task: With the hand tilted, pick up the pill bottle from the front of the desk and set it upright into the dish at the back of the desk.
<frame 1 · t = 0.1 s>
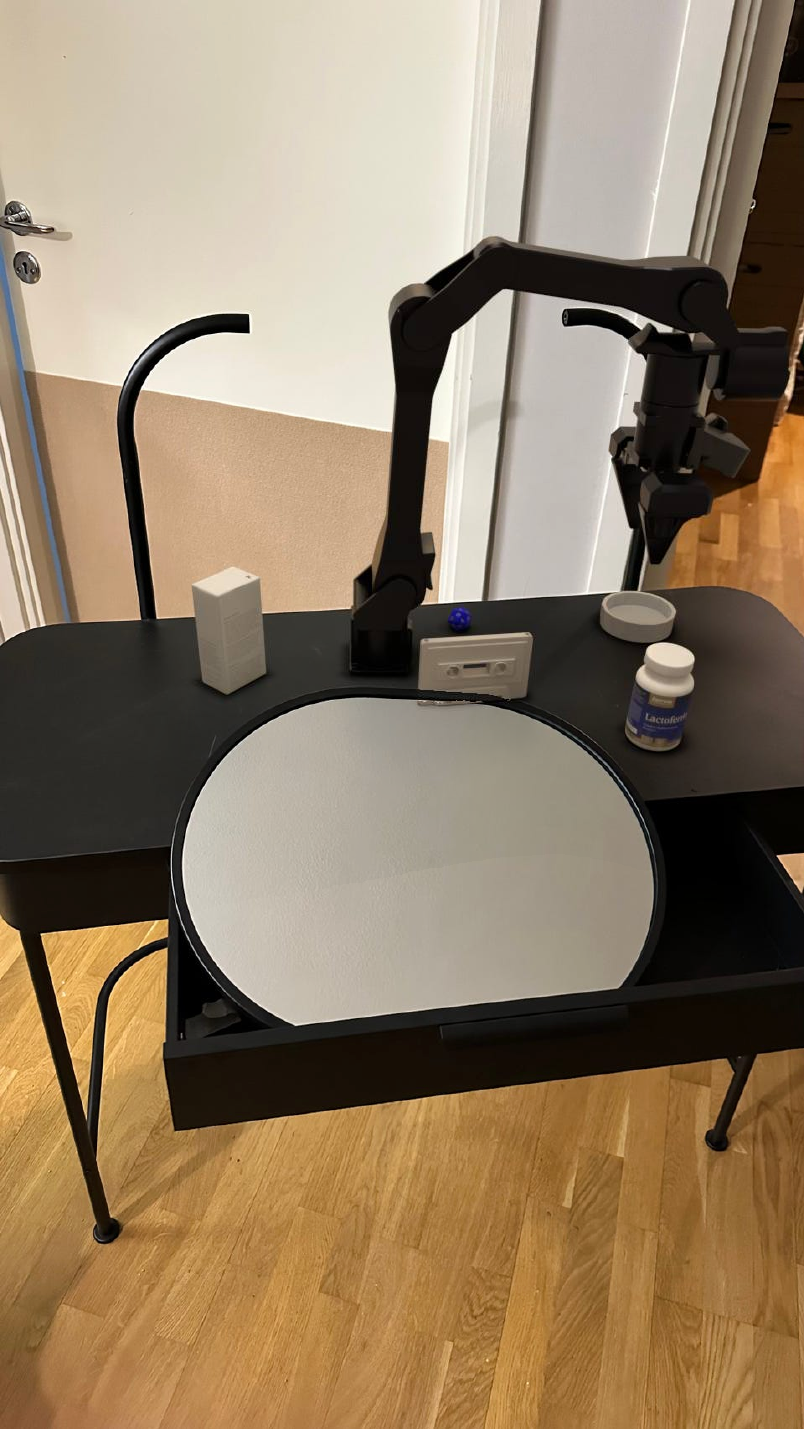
hand: (644, 545, 105), 15 cm above the table, tool pointing down, fingers open, 9 cm apart
cosmetic box: (233, 680, 108), on the table
dish: (635, 625, 121), on the table
die: (459, 629, 119), on the table
pill bottle: (652, 738, 101), on the table
cassette: (471, 700, 106), on the table
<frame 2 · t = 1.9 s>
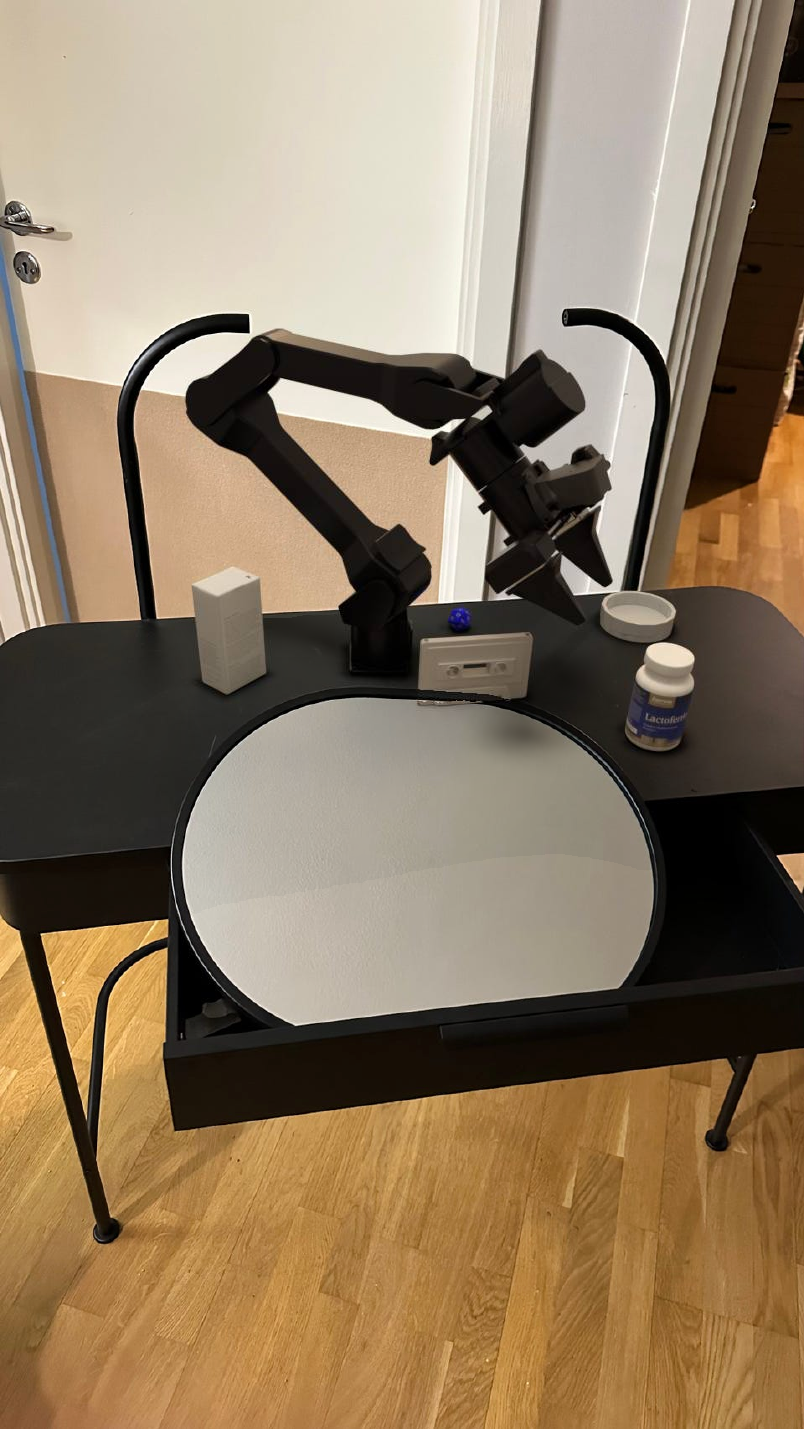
hand: (596, 603, 96), 13 cm above the table, tool tilted 45°, fingers open, 9 cm apart
nothing on the table moved.
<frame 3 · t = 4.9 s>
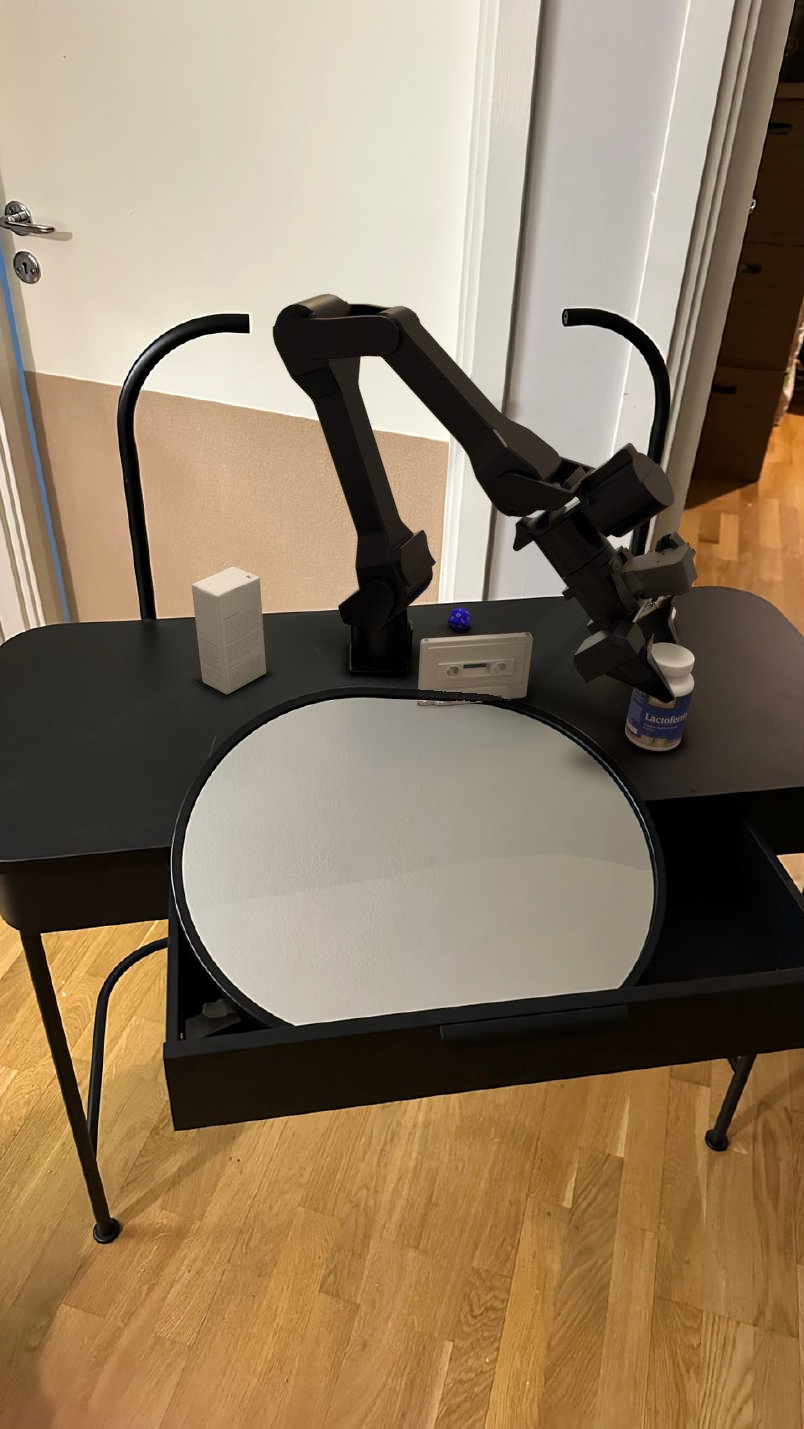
hand: (677, 686, 97), 7 cm above the table, tool tilted 45°, fingers closed on pill bottle, 6 cm apart
pill bottle: (652, 738, 101), on the table, touching gripper
everything else where it was.
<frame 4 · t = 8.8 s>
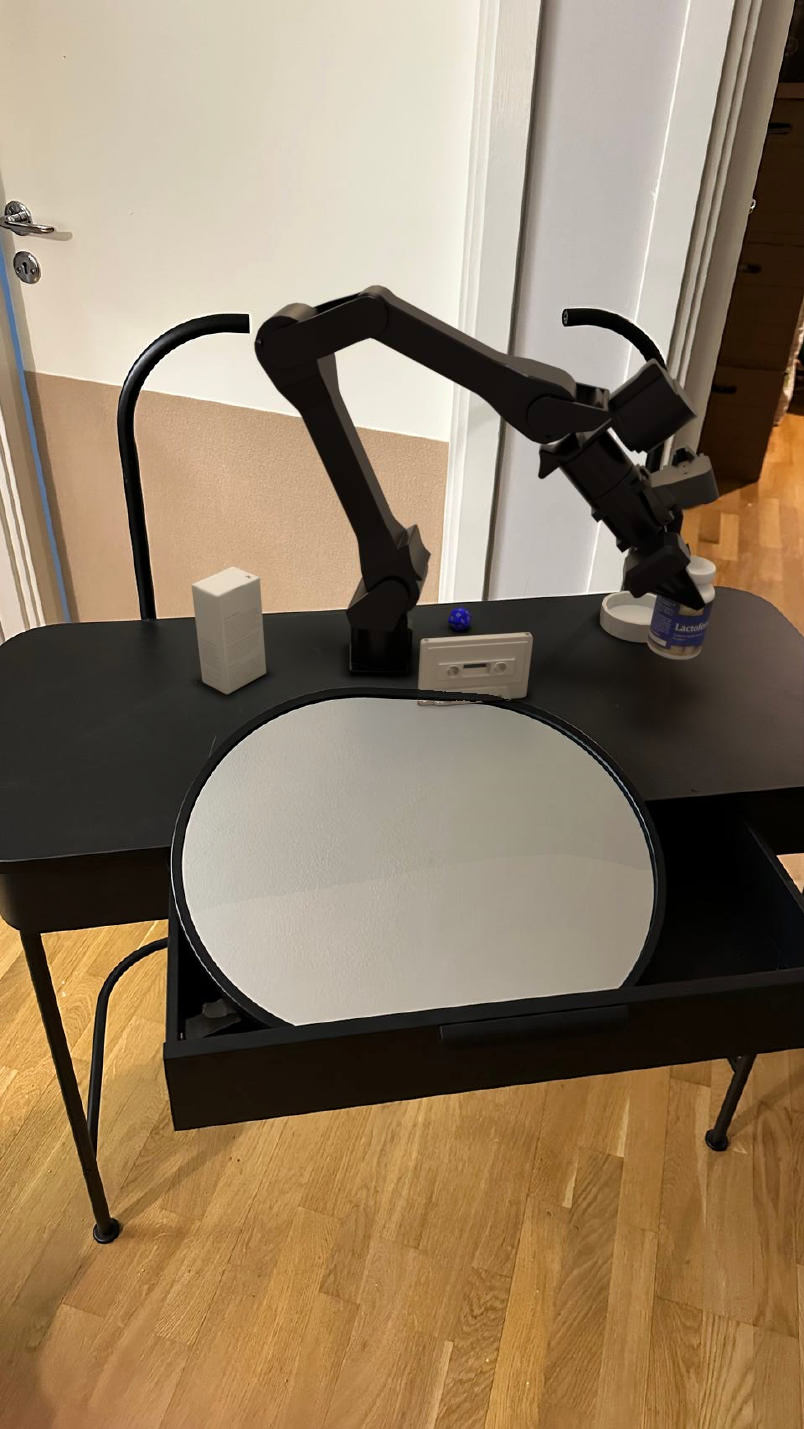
hand: (699, 594, 101), 12 cm above the table, tool tilted 45°, fingers closed on pill bottle, 6 cm apart
pill bottle: (672, 649, 105), point 5 cm above the table, touching gripper
everything else where it was.
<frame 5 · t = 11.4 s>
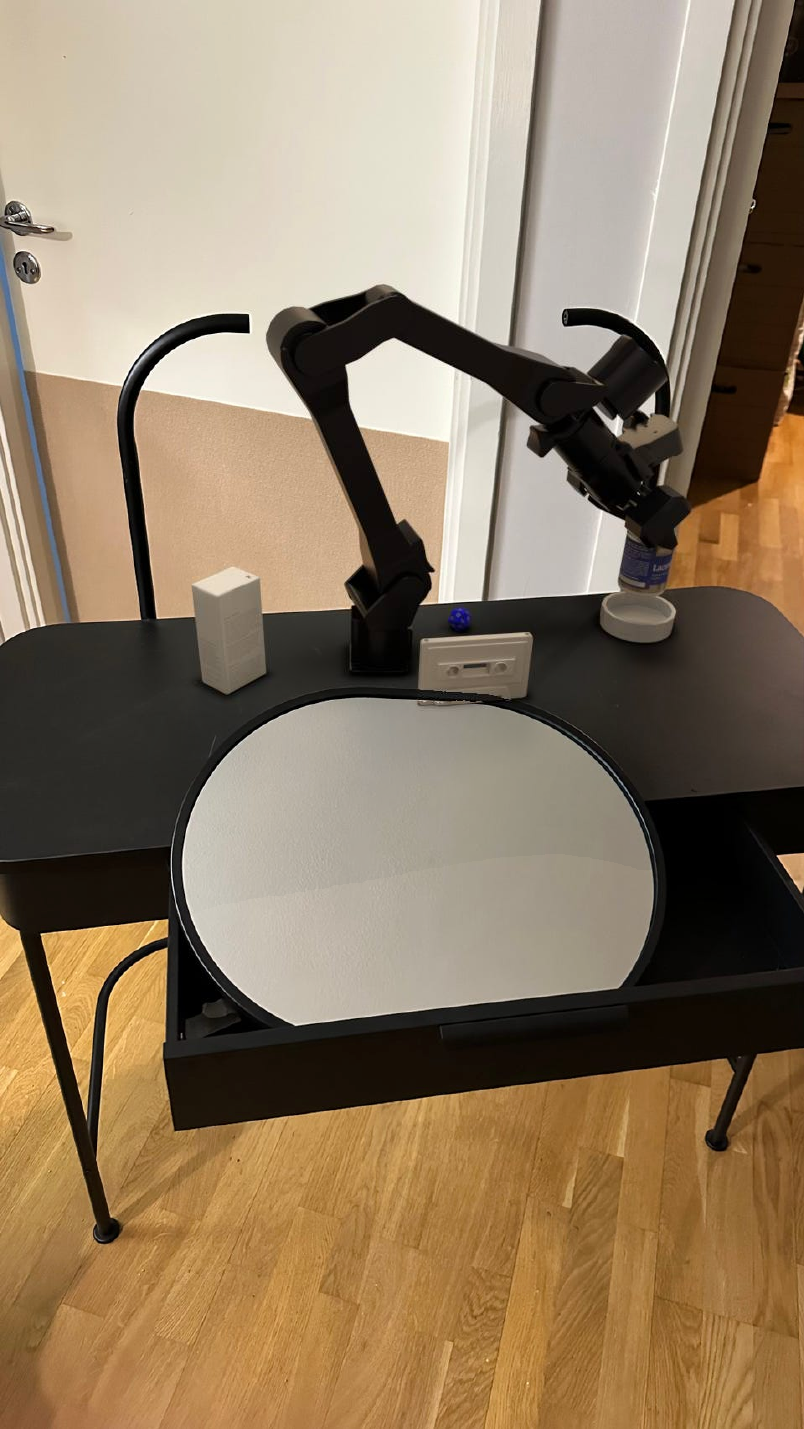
hand: (660, 536, 115), 12 cm above the table, tool tilted 45°, fingers closed on pill bottle, 6 cm apart
pill bottle: (640, 589, 118), point 5 cm above the table, touching gripper
everything else where it was.
when the fingers open (7 cm above the table, at t = 13.1 s): pill bottle stays where it is, resting on dish.
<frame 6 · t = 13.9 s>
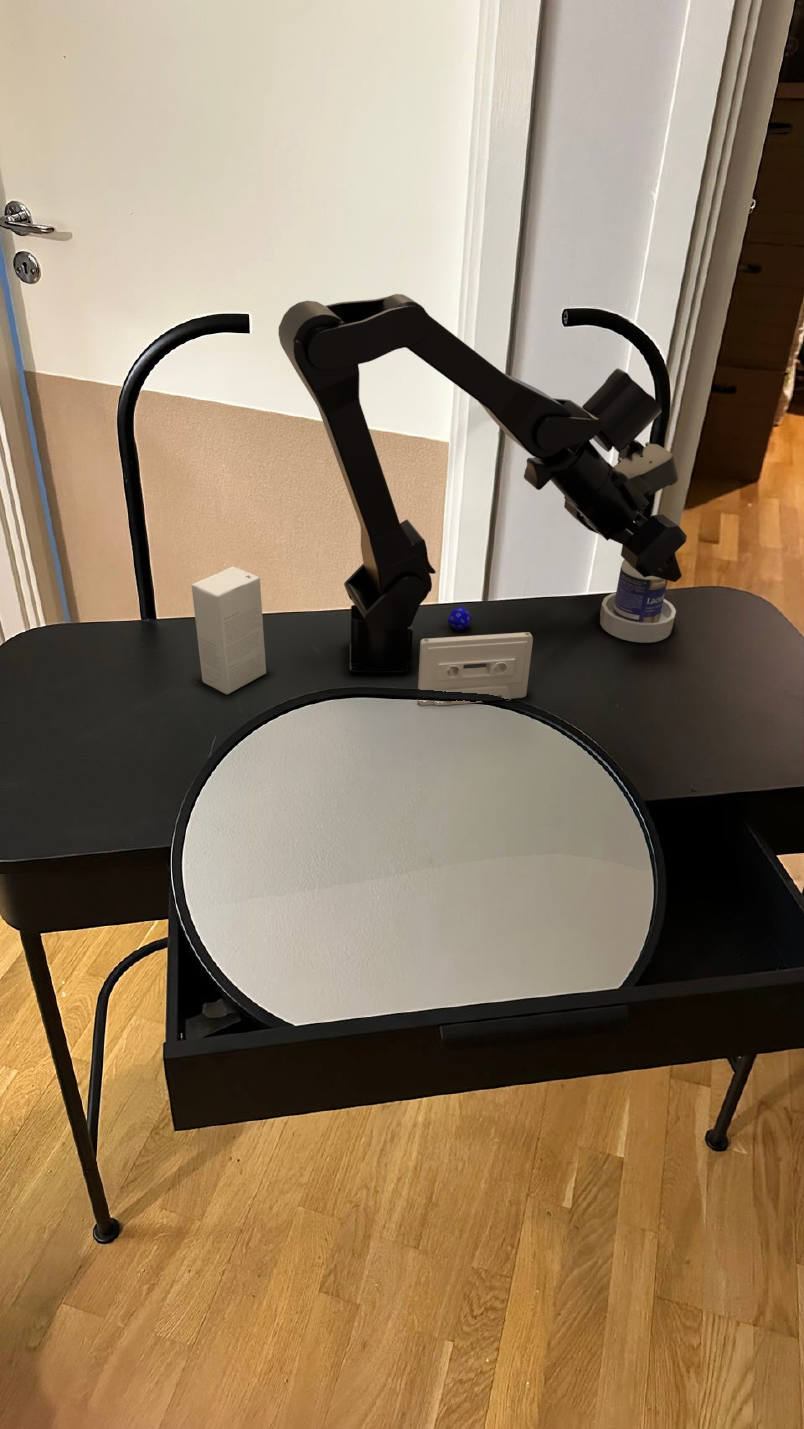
hand: (657, 562, 117), 8 cm above the table, tool tilted 45°, fingers open, 9 cm apart
pill bottle: (635, 621, 121), point 1 cm above the table, touching dish
everything else where it was.
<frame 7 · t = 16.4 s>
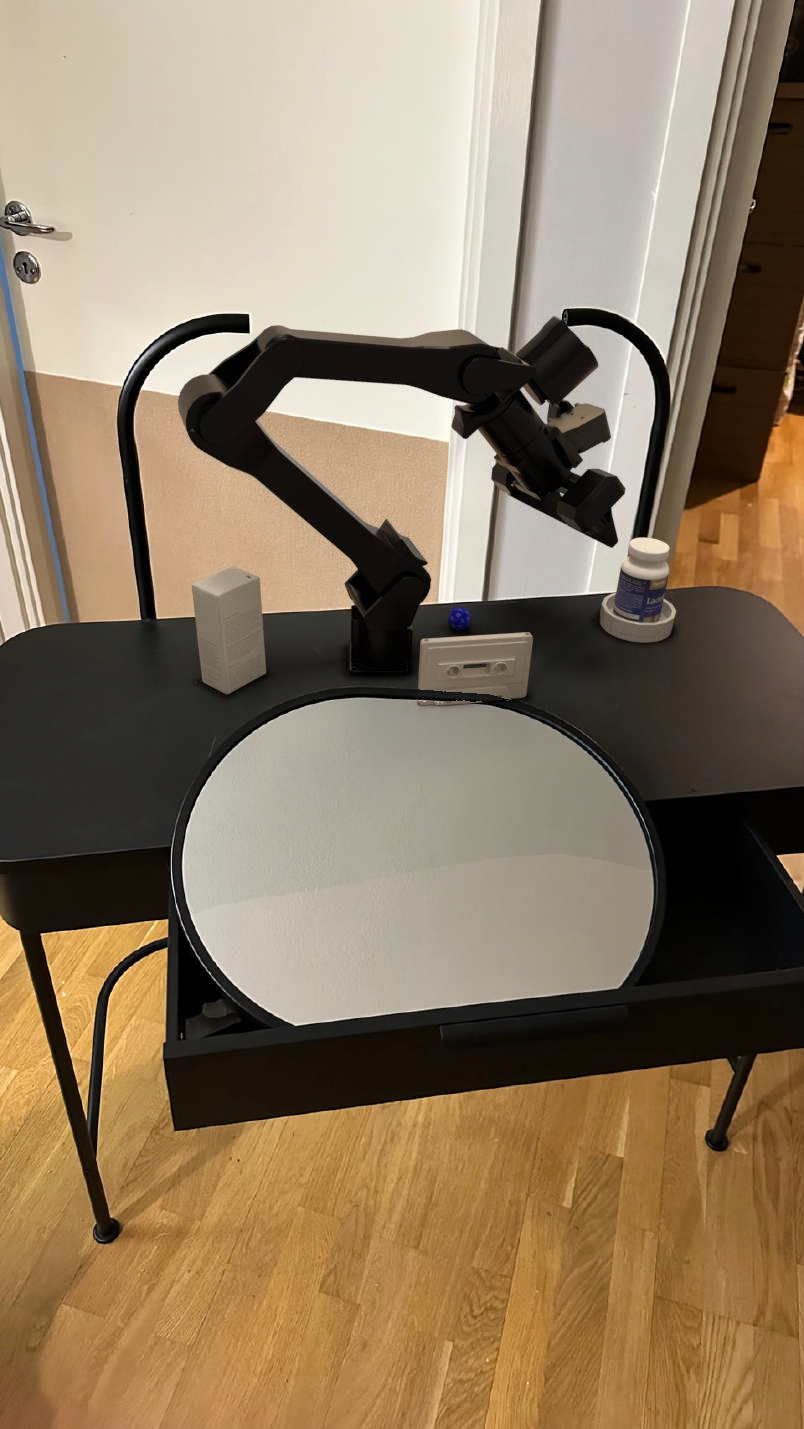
hand: (591, 532, 111), 13 cm above the table, tool tilted 40°, fingers open, 9 cm apart
nothing on the table moved.
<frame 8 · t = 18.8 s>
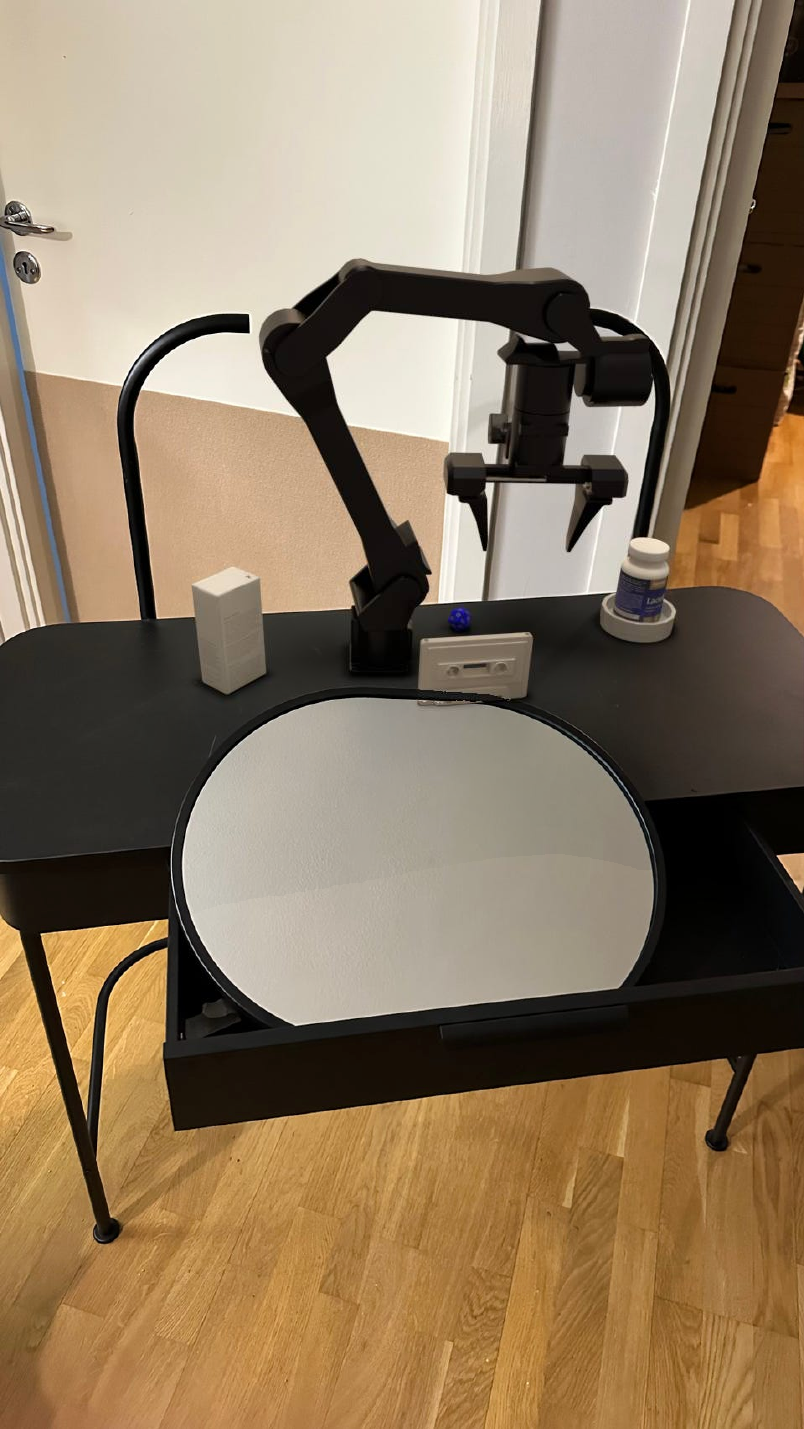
hand: (526, 550, 107), 13 cm above the table, tool pointing down, fingers open, 9 cm apart
nothing on the table moved.
at the end: pill bottle 0.2 cm off-centre in the dish, point 0.6 cm above the dish's base; pill bottle tilted 0°; the gripper is holding nothing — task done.
